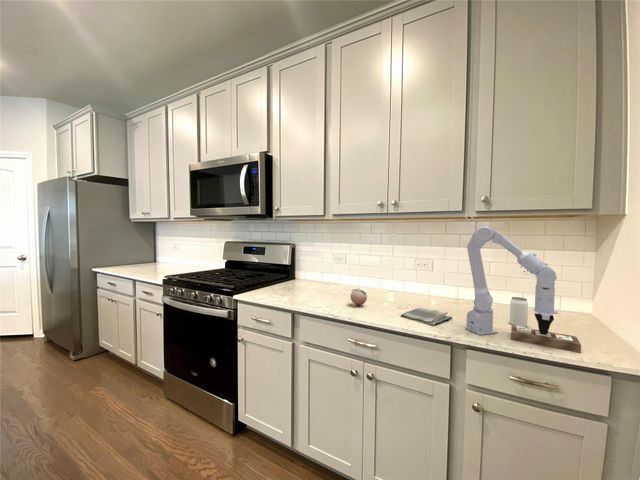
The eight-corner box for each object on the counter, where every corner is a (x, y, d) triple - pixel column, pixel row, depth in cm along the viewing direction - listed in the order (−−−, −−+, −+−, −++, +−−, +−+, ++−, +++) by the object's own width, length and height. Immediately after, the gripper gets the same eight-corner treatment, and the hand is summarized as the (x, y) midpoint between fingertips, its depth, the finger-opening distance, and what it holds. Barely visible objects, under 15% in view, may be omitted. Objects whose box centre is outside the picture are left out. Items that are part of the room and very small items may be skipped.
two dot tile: (556, 346, 102) (556, 337, 102) (554, 341, 106) (555, 333, 106) (573, 349, 100) (573, 340, 100) (570, 344, 104) (571, 336, 103)
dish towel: (399, 317, 136) (399, 311, 136) (418, 311, 148) (419, 305, 148) (435, 328, 122) (435, 321, 122) (454, 320, 133) (454, 313, 133)
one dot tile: (535, 342, 106) (536, 334, 106) (534, 338, 110) (535, 330, 110) (551, 345, 103) (551, 336, 103) (550, 341, 107) (550, 333, 107)
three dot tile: (516, 336, 109) (516, 328, 109) (516, 332, 113) (516, 325, 113) (531, 339, 107) (531, 331, 106) (530, 335, 110) (530, 327, 110)
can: (510, 321, 130) (511, 296, 130) (527, 324, 126) (528, 298, 126) (508, 325, 125) (509, 298, 125) (526, 328, 121) (527, 301, 121)
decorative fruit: (347, 306, 153) (347, 288, 153) (352, 303, 160) (353, 286, 160) (364, 309, 149) (364, 290, 148) (368, 305, 156) (369, 287, 156)
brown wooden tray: (511, 339, 108) (511, 332, 108) (511, 332, 116) (511, 325, 116) (580, 352, 97) (581, 344, 97) (575, 344, 104) (576, 336, 104)
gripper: (561, 304, 98) (559, 342, 98) (555, 296, 109) (554, 330, 110) (535, 301, 102) (534, 338, 102) (533, 293, 113) (532, 326, 114)
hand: (543, 333), depth 106 cm, fingers closed, pressing on one dot tile
